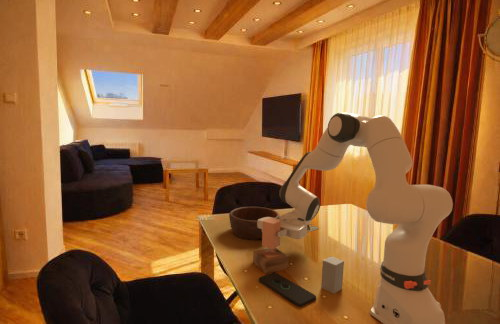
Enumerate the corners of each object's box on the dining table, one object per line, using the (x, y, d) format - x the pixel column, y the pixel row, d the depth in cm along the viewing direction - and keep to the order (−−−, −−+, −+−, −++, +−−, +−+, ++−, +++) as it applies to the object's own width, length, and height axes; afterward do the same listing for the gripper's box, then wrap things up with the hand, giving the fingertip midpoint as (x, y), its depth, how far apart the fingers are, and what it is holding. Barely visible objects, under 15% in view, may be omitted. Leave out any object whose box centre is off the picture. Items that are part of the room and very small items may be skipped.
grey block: (342, 288, 109) (344, 261, 108) (333, 293, 106) (335, 265, 104) (329, 283, 113) (331, 256, 111) (321, 287, 109) (322, 260, 108)
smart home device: (274, 271, 118) (317, 295, 102) (274, 275, 118) (317, 300, 102) (257, 277, 112) (299, 304, 97) (257, 282, 113) (299, 309, 97)
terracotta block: (279, 245, 125) (280, 220, 123) (272, 249, 121) (273, 223, 119) (269, 242, 128) (270, 217, 126) (261, 245, 124) (262, 221, 122)
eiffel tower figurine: (304, 234, 161) (305, 209, 159) (289, 229, 168) (290, 204, 167) (322, 228, 171) (323, 204, 169) (307, 223, 178) (308, 200, 176)
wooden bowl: (218, 231, 161) (219, 211, 160) (255, 221, 178) (255, 203, 176) (251, 247, 143) (252, 224, 141) (289, 234, 159) (290, 214, 158)
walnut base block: (287, 269, 123) (288, 256, 122) (265, 274, 118) (265, 261, 118) (274, 258, 132) (275, 247, 131) (252, 263, 127) (253, 250, 126)
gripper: (268, 211, 139) (248, 218, 128) (310, 221, 127) (293, 231, 116) (267, 225, 140) (248, 233, 129) (309, 237, 128) (292, 247, 117)
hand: (270, 232), depth 123 cm, fingers closed on terracotta block, 5 cm apart
